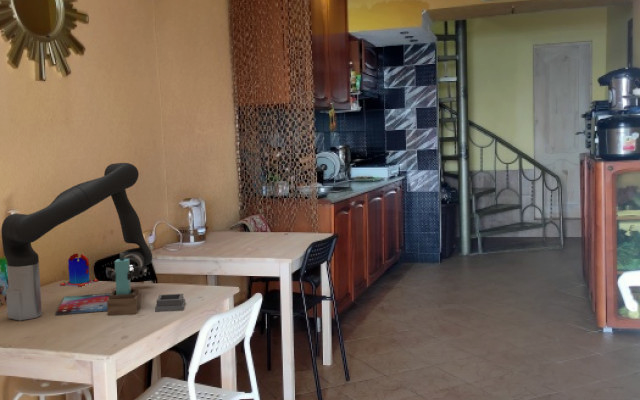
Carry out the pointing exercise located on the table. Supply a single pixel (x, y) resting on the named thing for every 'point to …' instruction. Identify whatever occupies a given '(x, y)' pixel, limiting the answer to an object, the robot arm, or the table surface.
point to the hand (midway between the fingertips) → (121, 277)
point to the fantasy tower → (78, 271)
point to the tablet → (83, 304)
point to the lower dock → (170, 302)
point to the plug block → (122, 276)
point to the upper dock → (123, 303)
